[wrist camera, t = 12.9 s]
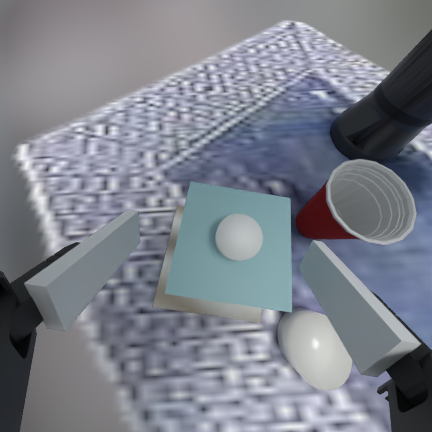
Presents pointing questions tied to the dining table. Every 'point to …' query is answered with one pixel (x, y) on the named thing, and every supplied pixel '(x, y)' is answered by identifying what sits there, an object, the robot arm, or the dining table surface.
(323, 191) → the plastic cup
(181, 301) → the podium
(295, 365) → the white oval pebble
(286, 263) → the carton
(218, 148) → the dining table surface
